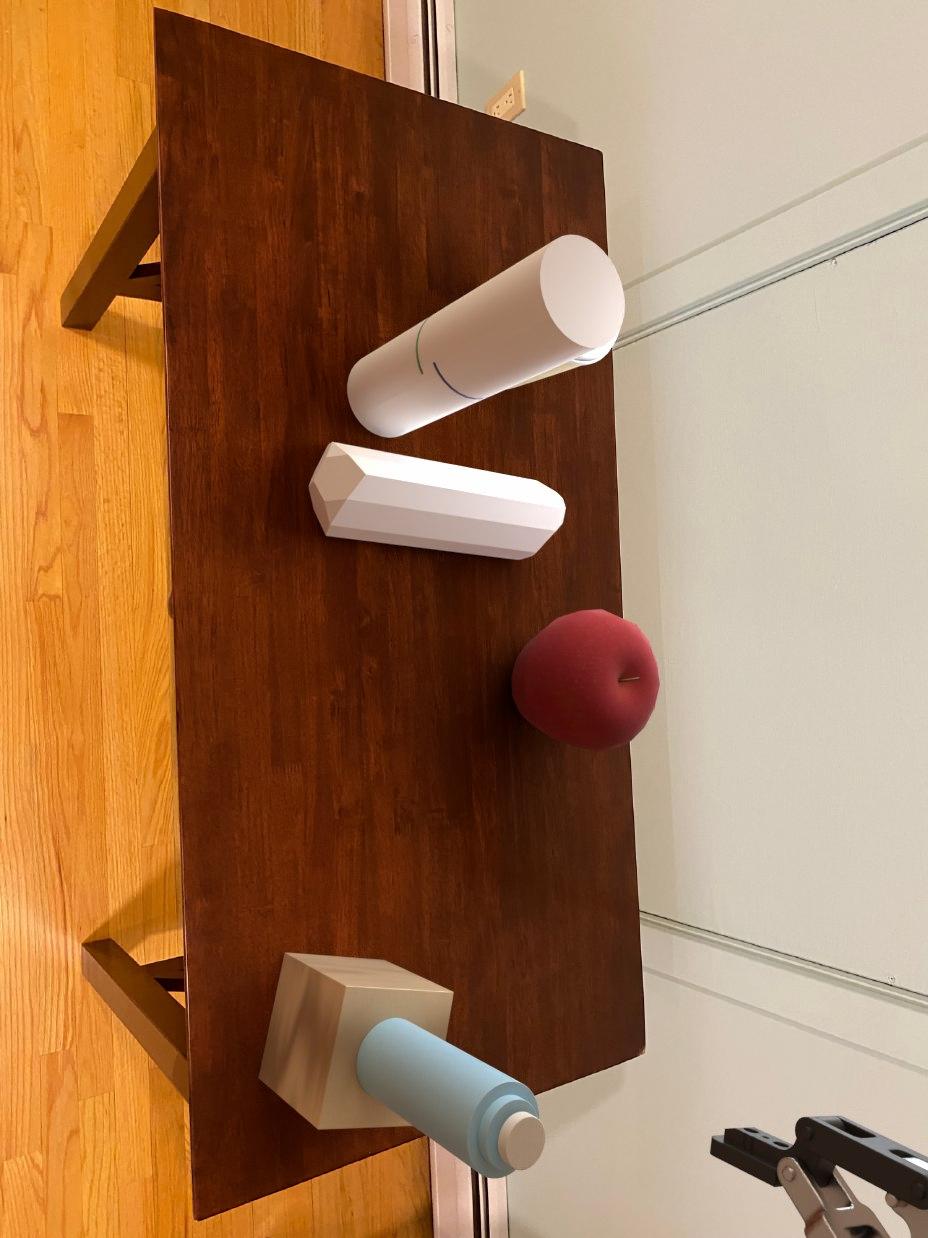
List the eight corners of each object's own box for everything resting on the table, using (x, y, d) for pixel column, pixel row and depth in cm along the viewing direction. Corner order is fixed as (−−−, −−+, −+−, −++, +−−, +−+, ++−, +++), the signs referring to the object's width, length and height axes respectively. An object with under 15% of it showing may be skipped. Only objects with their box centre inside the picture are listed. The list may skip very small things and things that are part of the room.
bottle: (413, 1097, 65) (553, 1191, 52) (349, 1098, 62) (481, 1198, 50) (427, 1019, 66) (568, 1093, 53) (364, 1016, 63) (497, 1094, 51)
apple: (499, 600, 85) (600, 586, 74) (591, 638, 91) (697, 630, 80) (471, 729, 82) (572, 734, 71) (568, 759, 88) (674, 768, 77)
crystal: (561, 457, 85) (321, 406, 71) (587, 518, 81) (341, 477, 68) (517, 508, 90) (285, 470, 76) (540, 568, 86) (301, 539, 72)
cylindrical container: (379, 453, 78) (579, 367, 58) (331, 379, 76) (520, 263, 56) (434, 411, 82) (640, 316, 61) (389, 339, 80) (588, 216, 59)
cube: (362, 1078, 74) (431, 1126, 65) (257, 1078, 69) (317, 1130, 60) (384, 960, 75) (454, 992, 67) (284, 952, 71) (345, 985, 62)
